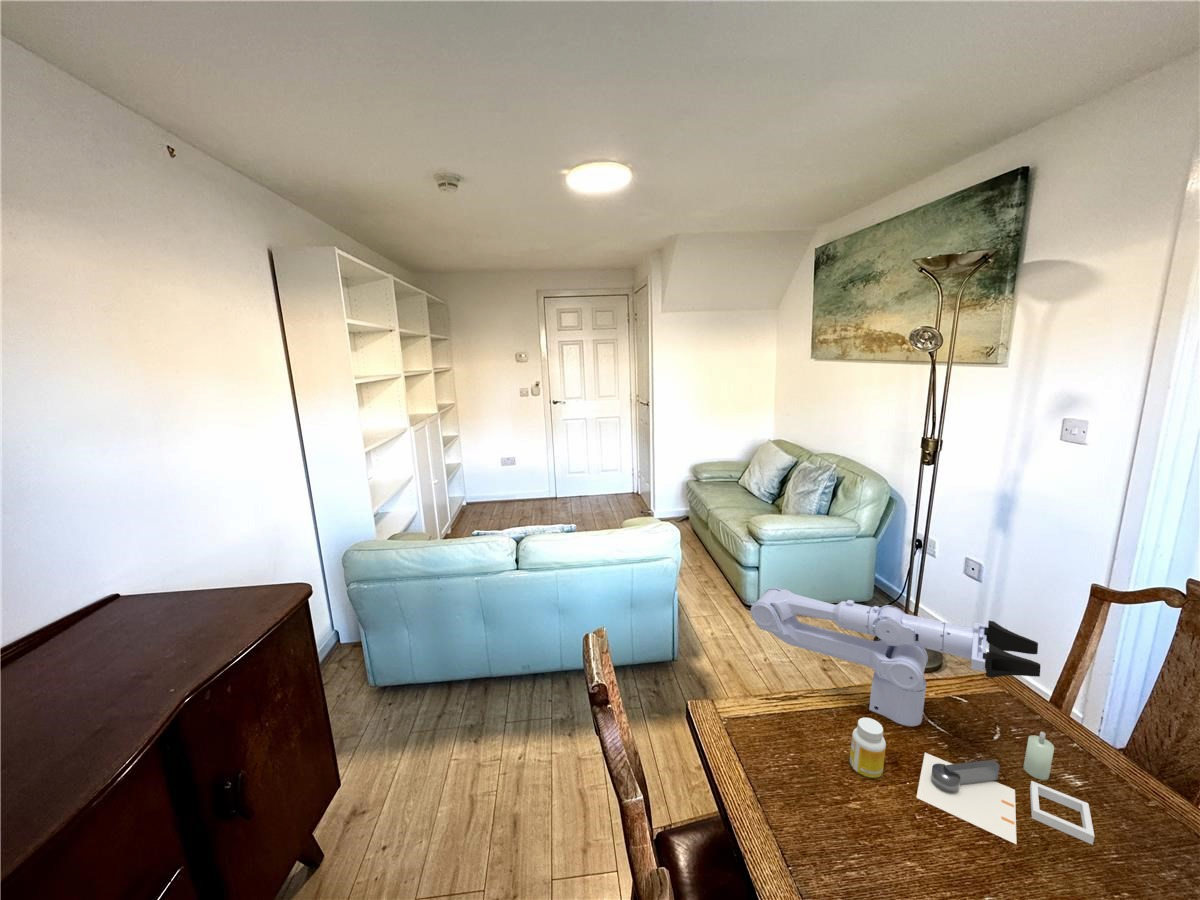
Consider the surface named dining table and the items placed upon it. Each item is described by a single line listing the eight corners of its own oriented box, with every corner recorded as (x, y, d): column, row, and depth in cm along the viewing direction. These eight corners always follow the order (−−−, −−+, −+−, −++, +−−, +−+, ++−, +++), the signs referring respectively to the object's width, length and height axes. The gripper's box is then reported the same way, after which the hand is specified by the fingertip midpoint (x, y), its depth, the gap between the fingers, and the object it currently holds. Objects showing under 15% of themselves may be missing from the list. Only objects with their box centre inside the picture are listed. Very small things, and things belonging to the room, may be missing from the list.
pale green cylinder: (1023, 777, 87) (1030, 734, 85) (1022, 765, 89) (1029, 722, 87) (1048, 788, 84) (1056, 743, 83) (1047, 775, 87) (1055, 731, 85)
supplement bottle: (842, 763, 90) (846, 718, 89) (864, 755, 92) (868, 711, 90) (867, 787, 85) (871, 740, 84) (889, 777, 87) (894, 731, 85)
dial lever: (943, 794, 82) (945, 779, 82) (925, 774, 86) (927, 759, 86) (1004, 786, 83) (1007, 772, 83) (984, 767, 87) (986, 753, 87)
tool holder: (1030, 823, 78) (1033, 810, 78) (1029, 792, 84) (1031, 780, 83) (1091, 849, 74) (1094, 836, 73) (1085, 816, 79) (1088, 803, 79)
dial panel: (915, 802, 82) (916, 796, 82) (924, 756, 91) (924, 751, 91) (1015, 849, 74) (1016, 843, 74) (1014, 794, 83) (1015, 789, 83)
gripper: (941, 636, 88) (1042, 659, 79) (948, 602, 99) (1037, 619, 90) (940, 671, 89) (1040, 697, 80) (947, 634, 100) (1035, 654, 91)
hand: (1038, 659), depth 85 cm, fingers open, 7 cm apart
